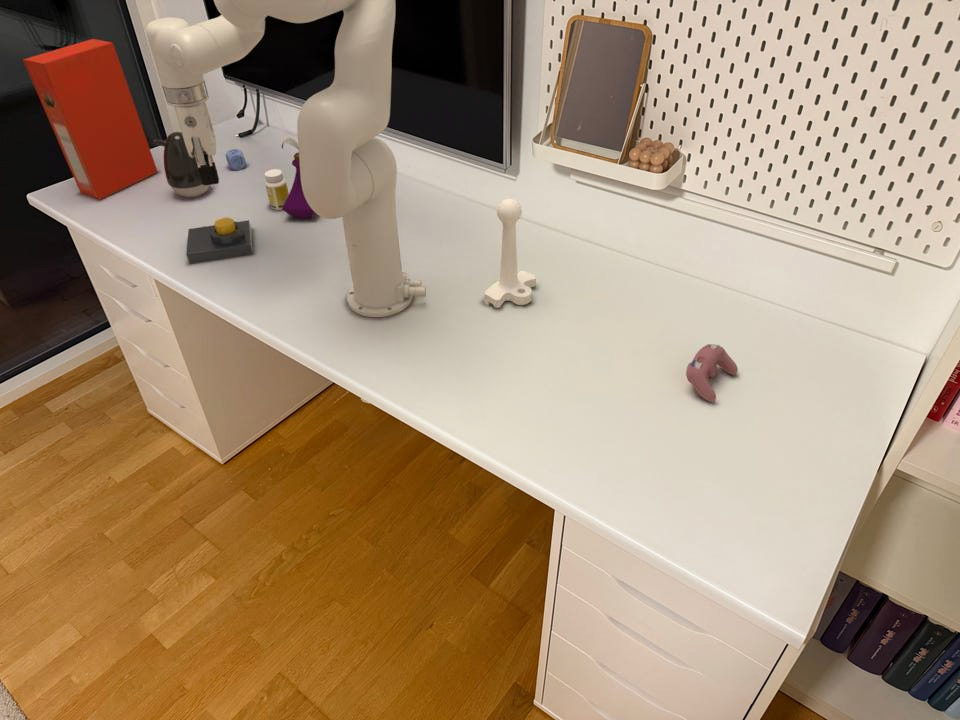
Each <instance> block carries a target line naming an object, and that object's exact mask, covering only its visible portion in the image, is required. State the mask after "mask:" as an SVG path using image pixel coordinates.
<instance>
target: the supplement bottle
mask: <svg viewBox="0 0 960 720" xmlns="http://www.w3.org/2000/svg"><path fill="white" fill-rule="evenodd" d="M264 178H265V182H264V183H265V184H264V185H265V189H266V194H267V197H268V201H269V205H270V208H271V209H273V210H275V211H282V207H283V205H284V203H285V201H286V199H287V197H288V195H289V193H290V192H289V189H288V185H287V180H286V178H285V177H284V174H283V171H282V170H281V169H279V168H274V169H273V168H272V169H269V170H267V171H265V172H264Z"/></svg>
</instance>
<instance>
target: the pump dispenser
mask: <svg viewBox="0 0 960 720" xmlns="http://www.w3.org/2000/svg"><path fill="white" fill-rule="evenodd" d="M152 143H153V145H156V146H160V147H163V168H164V173H165V177H166V183H167V185H169V186H170V187H171V189H172V190H173V191H174V192H175V193H176V194H177V195H178V196H181V197H186V198H196V197H199V196H202V195H203V194H205V193H206V192H207V191H208V190H209V188H210V186H211V185H203V184H202V181H201V177H200V174H199V170H198V165H197V162H196V159H195V156H194V158H192V157H190V156H189V154H188V151H187V148H186V145H185V142H184V139H183V135H182V132H181V131H173V132H171V133H169V134H168V135H167V137H166V139H165V140H163V139H153V141H152Z"/></svg>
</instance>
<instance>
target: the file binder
mask: <svg viewBox="0 0 960 720" xmlns="http://www.w3.org/2000/svg"><path fill="white" fill-rule="evenodd" d="M22 61H23V64H24V66H25V68H26V70H27V73H28V75H29V77H30V80H31V82H32V84H33V87H34V89H35V91H36V93H37V95H38V98H39V100H40V102H41V105H42V107H43V109H44V112H45V114H46V116H47V120H48V121H49V124H50V126H51V128H52V130H53V132H54V135H55V138H56V140H57V142H58V144H59V147H60V149H61V152H62V154H63V156H64V158H65V161H66V164H67V165H68V167H69V170H70V172H71V174H72V177H73V179H74V181H75V183H76V186H77V189H78V191H79V192H80V194H81V195H84V196H87V197H90V198H93V199H96V200H98V201H100V200H102V199H105V198H106V197H108V196H110V195H112V194H115V193H117V192H119V191H121V190H123V189H125V188H127V187H129V186H132V185H134V184H136V183H138V182H140V181H142V180H144V179H146V178H148V177H150V176H151V177H152V176H153V175H156V174H157V173H158V172H159V171H158V168H157V165H156V163H155V160H154V157H153V154H152V152H151V149H150V146H149V142H148V140H147V136H146V134H145V132H144V129H143V125H142V122H141V119H140V117H139V114H138V111H137V108H136V105H135V103H134V99H133V97H132V93H131V91H130V88H129V85H128V82H127V78H126V77H125V74H124V71H123V68H122V65H121V62H120V60H119V56H118V53H117V51H116V48H115V45H114V43H113V42H112V41H105V40H101V39H95V38H91V39H88V40H84V41H80V42H77V43H75V44H70V45H67V46H64V47H60V48H58V49H54V50H51V51H47V52H44V53H40V54H37V55H34V56H30V57H27V58H24V59H22Z"/></svg>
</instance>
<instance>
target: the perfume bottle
mask: <svg viewBox="0 0 960 720" xmlns="http://www.w3.org/2000/svg"><path fill="white" fill-rule="evenodd" d="M284 144H288V145H291V146H292V147H294V148H296V149H297V150H298V152H296V153H294V155H293V158H294V159H293V160H292V162H291V165H292V166H293V167H295V175H294V179H293V183H292V186H291V189H290V191H289V192H288V193H289V195H288V197H287V199H286V201H285V203H284V205H283V207H282V210H283V211H284V212H285V213H286V214H288V215H289V216H290V217H292V218H293V219H300V220H301V219H302V220H304V219H305V220H311V219H312V218H313V217H314V216H315V214H316V213H315V212H314V211H313V210H312V209H311V207H310V206H309V204H308V203H307V201H306V199H305V196H304V193H303V190H302V185H301V177H300V163H299V148H298V141H296V140H295V139H294V138H293V137H287V138H286V139H284V140H283V141H282V143H281V147H280V148H281V149H282V150H284ZM282 210H281V211H282Z"/></svg>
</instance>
